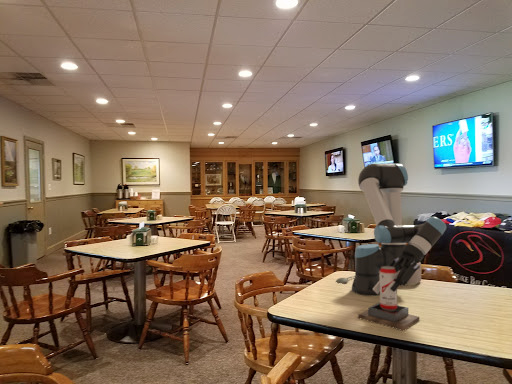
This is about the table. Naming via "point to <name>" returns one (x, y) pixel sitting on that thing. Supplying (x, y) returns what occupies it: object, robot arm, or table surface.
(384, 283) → the beer can
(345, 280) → the soupspoon
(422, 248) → the robot arm
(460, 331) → the table surface
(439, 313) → the table surface
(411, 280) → the container
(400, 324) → the keeper board
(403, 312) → the grey shallow square box
